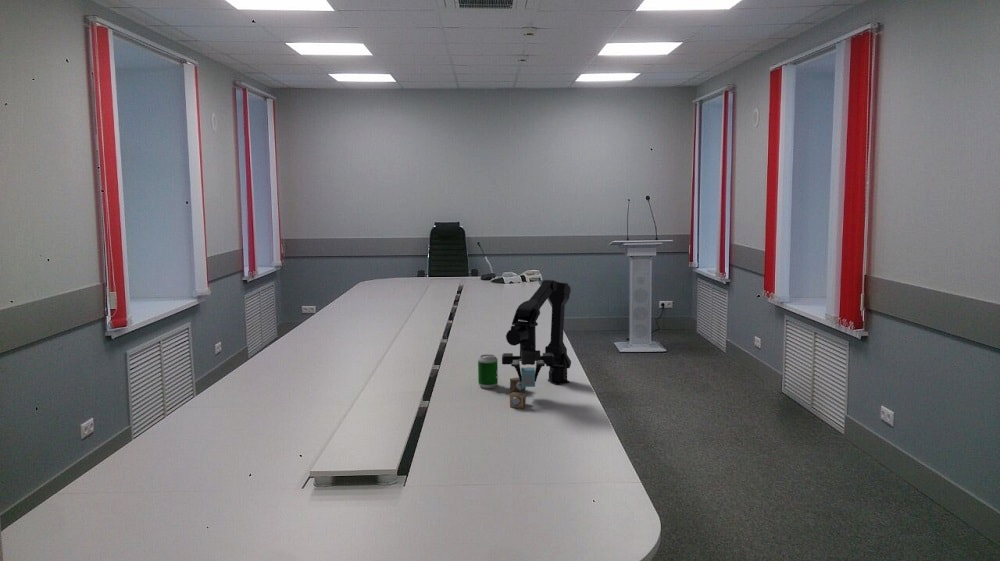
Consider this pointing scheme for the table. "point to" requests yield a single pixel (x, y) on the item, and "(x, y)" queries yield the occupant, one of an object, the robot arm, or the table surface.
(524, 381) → the light blue block
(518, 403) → the shaft
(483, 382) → the soda can
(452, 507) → the table surface
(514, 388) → the shaft
